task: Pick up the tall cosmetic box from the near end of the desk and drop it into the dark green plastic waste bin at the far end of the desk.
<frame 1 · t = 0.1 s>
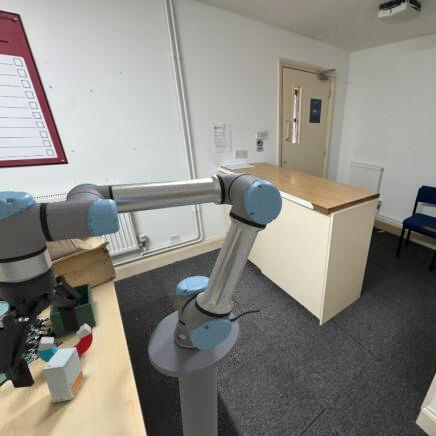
hand: (51, 354, 52), 21 cm above the table, tool pointing down, fingers open, 13 cm apart
bin: (77, 319, 86), on the table
cosmetic box: (70, 390, 64), on the table
magnet: (71, 357, 72), on the table
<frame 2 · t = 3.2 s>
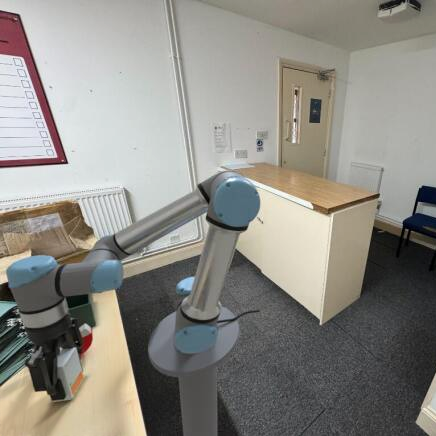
hand: (68, 385, 63), 2 cm above the table, tool pointing down, fingers closed on cosmetic box, 6 cm apart
cosmetic box: (70, 390, 64), on the table, touching gripper
everything else where it was.
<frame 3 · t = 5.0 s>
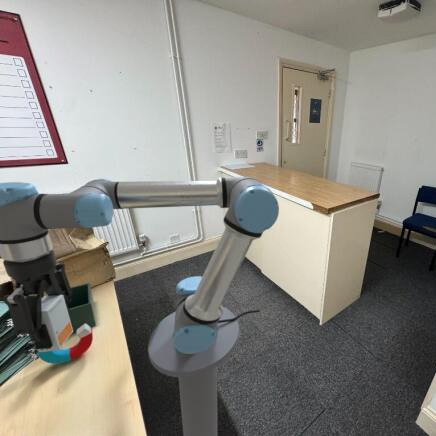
hand: (55, 335, 58), 19 cm above the table, tool pointing down, fingers closed on cosmetic box, 6 cm apart
cosmetic box: (57, 341, 59), point 17 cm above the table, touching gripper
everything else where it was.
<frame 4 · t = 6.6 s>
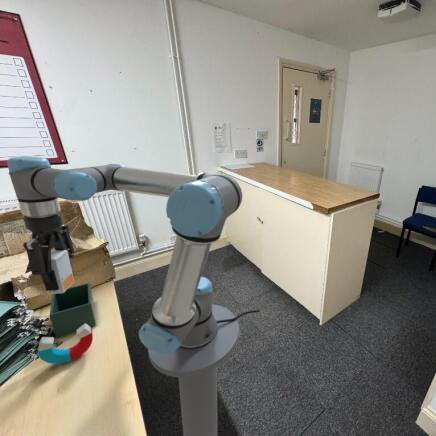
hand: (60, 282, 73), 21 cm above the table, tool pointing down, fingers closed on cosmetic box, 6 cm apart
cosmetic box: (62, 288, 74), point 19 cm above the table, touching gripper
everything else where it was.
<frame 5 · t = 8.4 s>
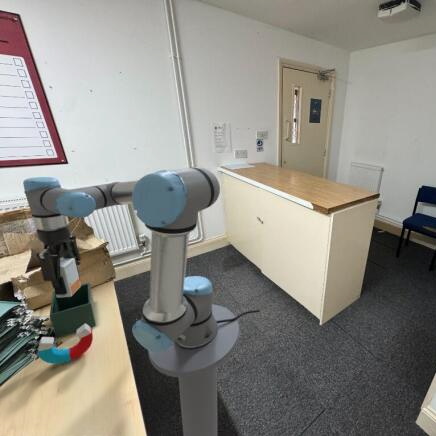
hand: (68, 287, 81), 14 cm above the table, tool pointing down, fingers closed on cosmetic box, 6 cm apart
cosmetic box: (69, 292, 82), point 12 cm above the table, touching gripper
everything else where it was.
when the fingers open (9 cm above the table, at t = 10.2 s): cosmetic box drops 6 cm, point 1 cm above the table.
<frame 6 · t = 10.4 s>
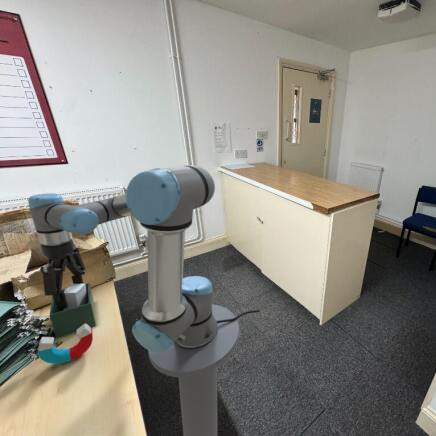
hand: (71, 298, 83), 9 cm above the table, tool pointing down, fingers open, 8 cm apart
cosmetic box: (78, 316, 86), point 1 cm above the table, touching gripper
everything else where it was.
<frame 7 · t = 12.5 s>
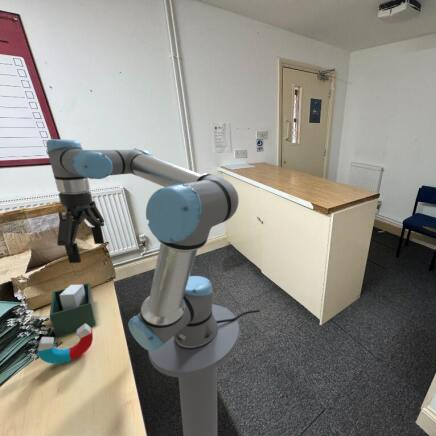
hand: (88, 252, 80), 27 cm above the table, tool pointing down, fingers open, 13 cm apart
cosmetic box: (78, 316, 86), point 1 cm above the table, touching bin
everything else where it was.
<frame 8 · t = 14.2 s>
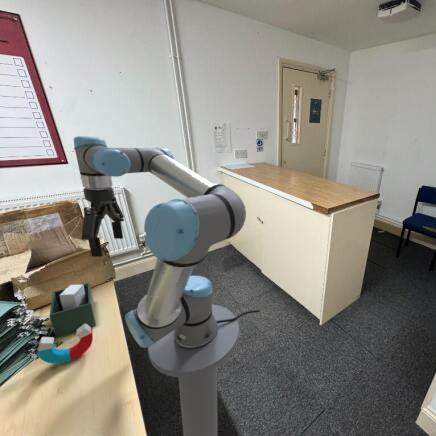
hand: (108, 246, 82), 29 cm above the table, tool pointing down, fingers open, 13 cm apart
nothing on the table moved.
at the end: cosmetic box inside the target area in the bin (0.6 cm from its centre), point 0.6 cm above the bin's base; the gripper is holding nothing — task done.
